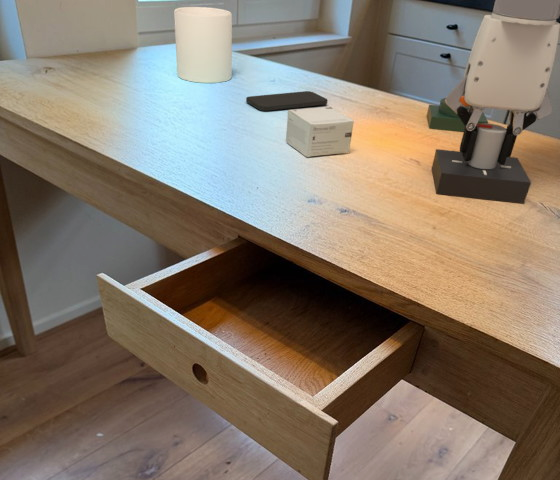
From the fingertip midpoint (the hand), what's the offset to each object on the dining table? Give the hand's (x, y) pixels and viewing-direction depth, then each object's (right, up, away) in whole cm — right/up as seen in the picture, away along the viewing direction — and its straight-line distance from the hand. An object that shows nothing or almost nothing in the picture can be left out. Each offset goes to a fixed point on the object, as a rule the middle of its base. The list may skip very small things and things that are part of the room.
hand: (483, 158), depth 79 cm
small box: (-23, +6, +11) cm, 26 cm away
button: (+4, +19, +23) cm, 30 cm away
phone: (-27, +22, +30) cm, 46 cm away
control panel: (0, -3, +2) cm, 4 cm away
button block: (+4, +16, +25) cm, 30 cm away
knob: (0, -1, +1) cm, 1 cm away
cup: (-45, +34, +43) cm, 71 cm away
